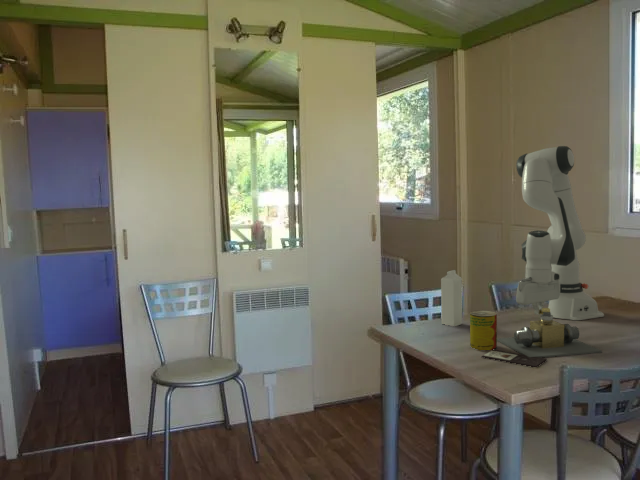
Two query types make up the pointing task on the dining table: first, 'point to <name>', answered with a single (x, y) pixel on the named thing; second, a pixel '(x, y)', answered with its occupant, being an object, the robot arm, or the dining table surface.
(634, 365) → the dining table surface
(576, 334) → the valve body
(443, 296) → the milk
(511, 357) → the chocolate bar
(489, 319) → the yellow tin can
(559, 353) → the mat
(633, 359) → the dining table surface
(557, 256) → the robot arm
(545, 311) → the lever
